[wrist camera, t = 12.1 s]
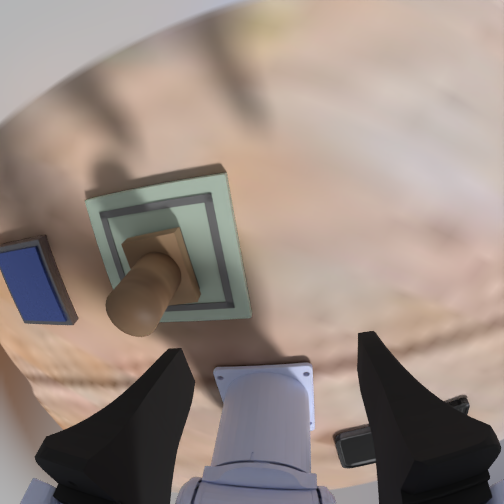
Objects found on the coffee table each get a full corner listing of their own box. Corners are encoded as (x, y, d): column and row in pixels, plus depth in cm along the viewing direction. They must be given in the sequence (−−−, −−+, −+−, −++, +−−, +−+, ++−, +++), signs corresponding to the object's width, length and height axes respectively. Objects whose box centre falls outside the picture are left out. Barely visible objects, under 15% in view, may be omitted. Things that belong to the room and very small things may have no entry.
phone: (460, 436, 28) (342, 470, 31) (458, 429, 29) (342, 462, 32) (471, 399, 25) (334, 439, 28) (467, 392, 26) (333, 431, 29)
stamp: (202, 290, 22) (178, 347, 16) (153, 296, 22) (120, 350, 17) (181, 224, 20) (145, 268, 15) (130, 235, 21) (85, 278, 15)
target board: (252, 313, 23) (251, 318, 22) (129, 318, 24) (125, 323, 24) (226, 172, 19) (224, 174, 18) (89, 198, 20) (84, 201, 20)
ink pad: (78, 318, 25) (71, 326, 24) (30, 317, 26) (23, 324, 25) (45, 234, 22) (36, 240, 21) (-1, 244, 23) (-9, 249, 22)
